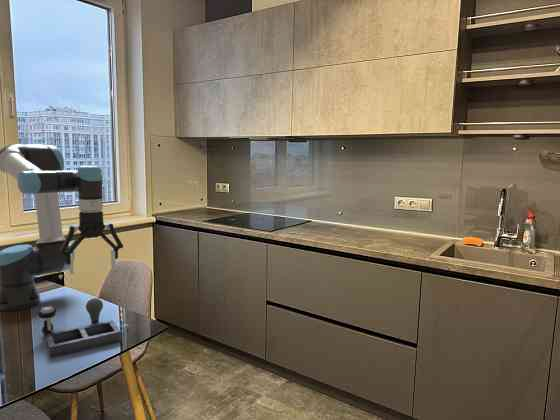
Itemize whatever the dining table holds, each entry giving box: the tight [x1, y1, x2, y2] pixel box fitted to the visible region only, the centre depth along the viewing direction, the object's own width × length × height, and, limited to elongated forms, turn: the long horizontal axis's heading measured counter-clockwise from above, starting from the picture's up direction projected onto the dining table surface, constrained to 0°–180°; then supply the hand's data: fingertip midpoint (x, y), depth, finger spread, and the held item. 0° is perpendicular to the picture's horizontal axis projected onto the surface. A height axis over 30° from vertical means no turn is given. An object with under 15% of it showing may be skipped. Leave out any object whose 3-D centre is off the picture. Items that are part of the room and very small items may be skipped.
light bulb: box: [85, 297, 104, 324], centre depth 145 cm, size 6×6×10 cm
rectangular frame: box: [44, 319, 122, 359], centre depth 132 cm, size 11×20×4 cm, turn 126°
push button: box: [37, 306, 57, 339], centre depth 135 cm, size 7×5×10 cm
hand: (93, 270), depth 143 cm, fingers open, 13 cm apart
